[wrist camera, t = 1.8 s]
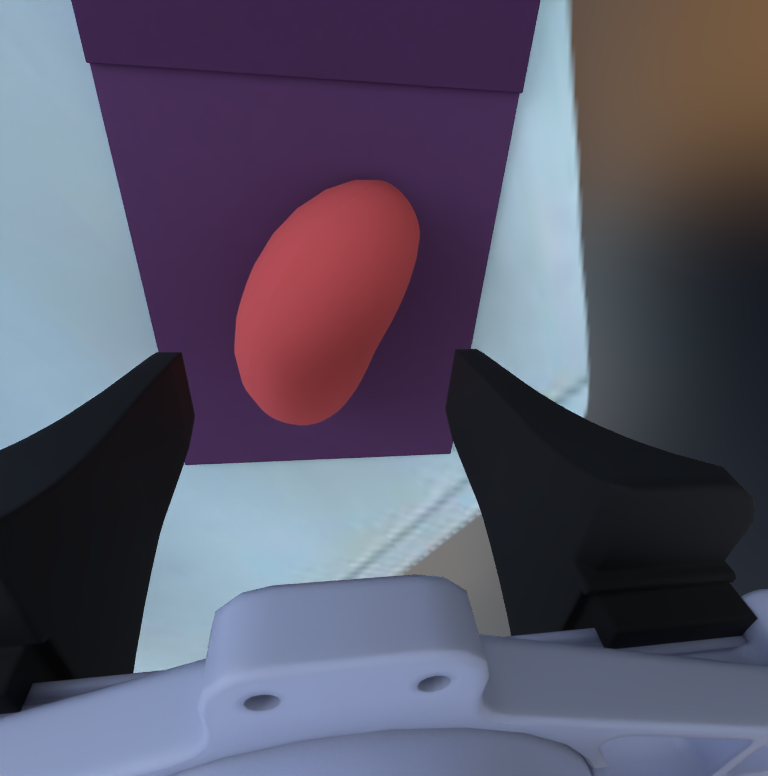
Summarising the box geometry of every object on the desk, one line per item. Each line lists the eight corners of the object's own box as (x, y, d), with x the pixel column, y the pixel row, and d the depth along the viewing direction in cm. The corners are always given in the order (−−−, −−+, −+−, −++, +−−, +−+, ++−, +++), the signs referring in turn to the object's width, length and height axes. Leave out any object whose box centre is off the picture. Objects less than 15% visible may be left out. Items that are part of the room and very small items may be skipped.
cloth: (449, 450, 25) (451, 457, 24) (186, 461, 23) (184, 469, 22) (550, -85, 13) (558, -89, 13) (42, -150, 11) (33, -157, 11)
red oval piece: (193, 296, 19) (198, 442, 17) (300, 112, 13) (334, 295, 11) (305, 323, 22) (324, 448, 20) (432, 184, 16) (483, 338, 14)
